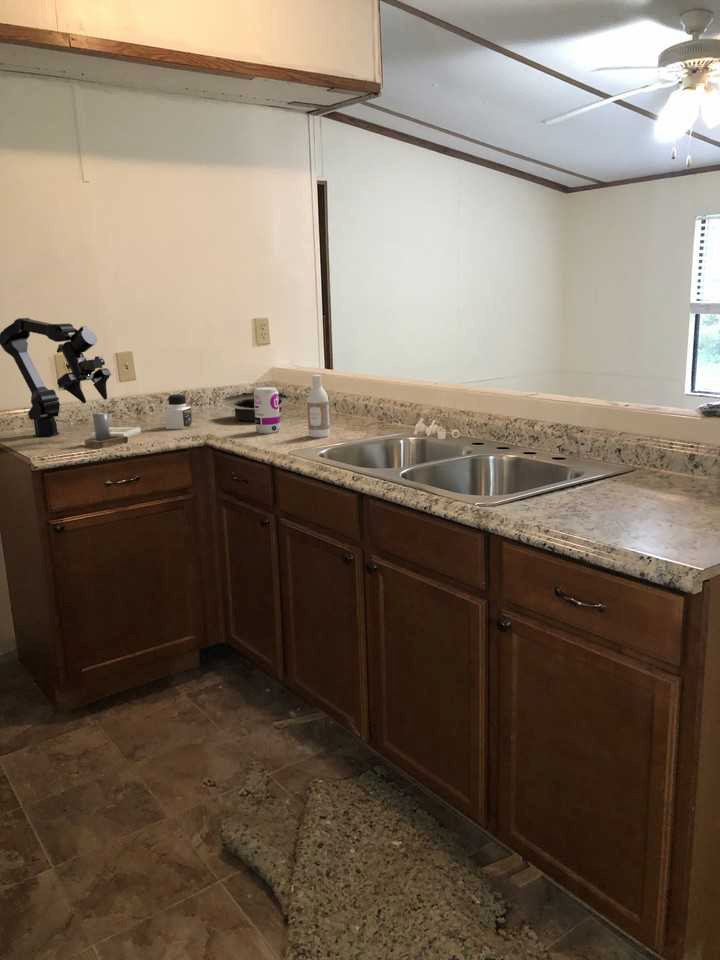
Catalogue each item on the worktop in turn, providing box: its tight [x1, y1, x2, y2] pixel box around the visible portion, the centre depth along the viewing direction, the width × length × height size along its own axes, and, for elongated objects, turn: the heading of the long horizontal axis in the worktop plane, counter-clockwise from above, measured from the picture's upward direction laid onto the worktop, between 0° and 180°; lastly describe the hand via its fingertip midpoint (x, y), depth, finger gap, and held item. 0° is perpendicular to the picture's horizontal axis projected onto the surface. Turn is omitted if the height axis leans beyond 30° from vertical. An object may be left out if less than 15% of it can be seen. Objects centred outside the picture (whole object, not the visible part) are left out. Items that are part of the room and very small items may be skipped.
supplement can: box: [253, 386, 281, 435], centre depth 267 cm, size 8×8×15 cm
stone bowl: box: [223, 391, 290, 423], centre depth 297 cm, size 25×25×9 cm
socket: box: [84, 435, 129, 449], centre depth 253 cm, size 8×11×2 cm
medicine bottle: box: [164, 393, 193, 430], centre depth 281 cm, size 7×7×12 cm
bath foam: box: [306, 374, 330, 439], centre depth 255 cm, size 7×7×20 cm
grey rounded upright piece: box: [92, 412, 110, 441], centre depth 253 cm, size 6×6×10 cm
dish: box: [90, 426, 142, 440], centre depth 268 cm, size 12×12×2 cm
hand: (95, 401), depth 259 cm, fingers open, 9 cm apart
